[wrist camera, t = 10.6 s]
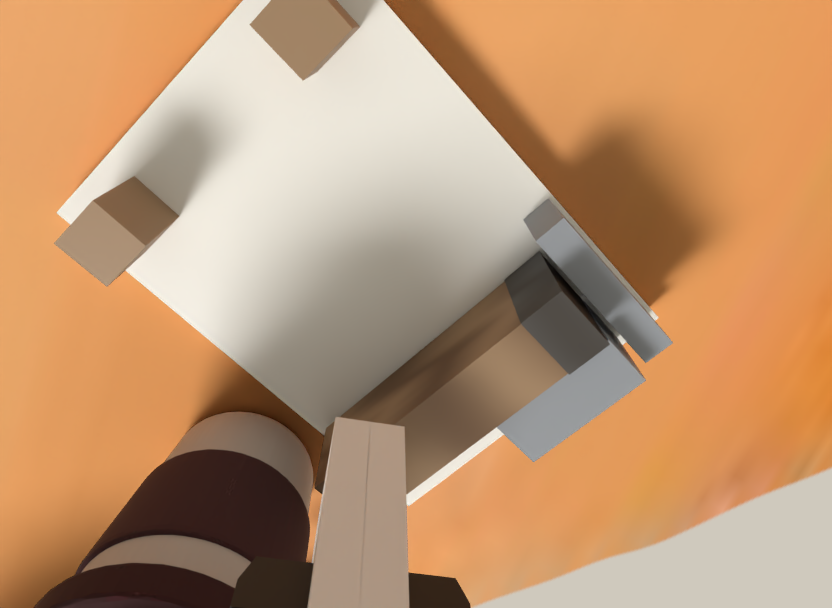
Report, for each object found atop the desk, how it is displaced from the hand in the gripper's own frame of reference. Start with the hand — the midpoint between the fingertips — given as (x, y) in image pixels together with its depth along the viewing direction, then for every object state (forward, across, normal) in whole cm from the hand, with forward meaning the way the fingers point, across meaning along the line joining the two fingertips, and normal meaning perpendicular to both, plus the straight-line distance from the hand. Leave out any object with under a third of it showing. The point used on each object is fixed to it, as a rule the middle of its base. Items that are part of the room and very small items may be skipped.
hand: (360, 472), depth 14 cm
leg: (+16, +4, -5) cm, 17 cm away
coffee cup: (+17, -5, -14) cm, 23 cm away
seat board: (+17, 0, -1) cm, 17 cm away
